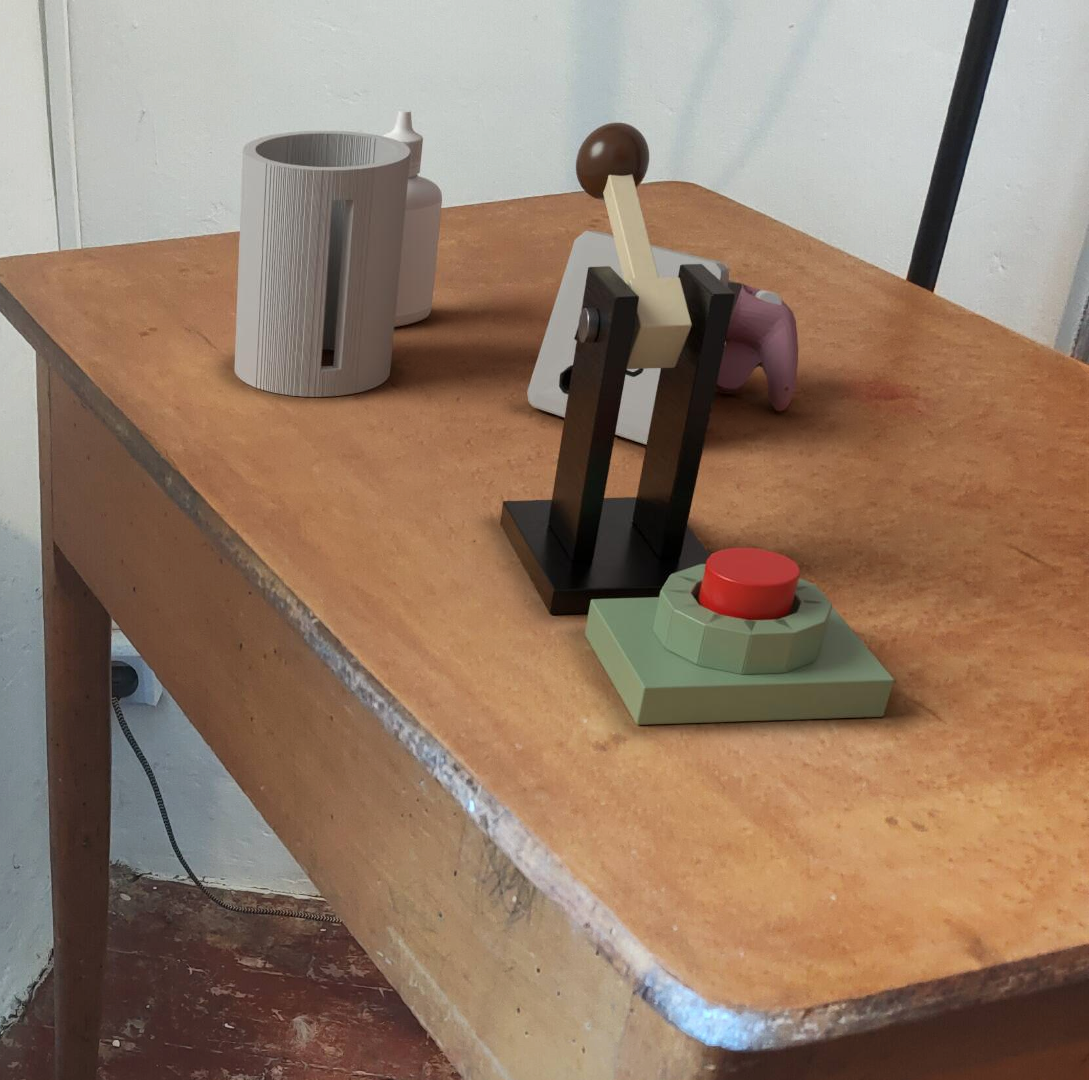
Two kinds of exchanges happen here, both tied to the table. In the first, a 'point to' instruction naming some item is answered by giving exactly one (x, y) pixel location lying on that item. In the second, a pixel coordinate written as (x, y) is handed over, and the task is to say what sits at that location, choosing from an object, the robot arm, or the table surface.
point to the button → (749, 584)
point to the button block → (733, 659)
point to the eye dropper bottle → (416, 231)
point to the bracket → (586, 447)
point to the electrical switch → (563, 329)
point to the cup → (319, 260)
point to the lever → (635, 242)
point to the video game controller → (761, 345)
